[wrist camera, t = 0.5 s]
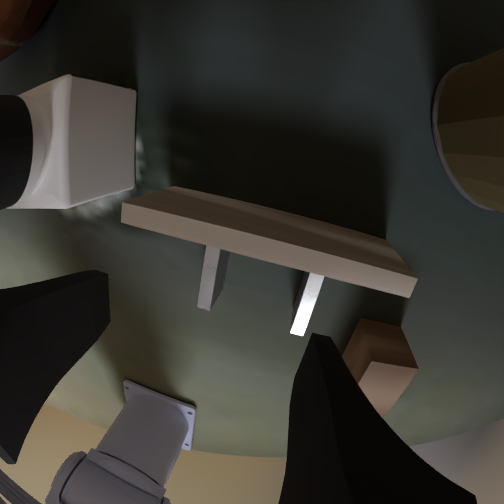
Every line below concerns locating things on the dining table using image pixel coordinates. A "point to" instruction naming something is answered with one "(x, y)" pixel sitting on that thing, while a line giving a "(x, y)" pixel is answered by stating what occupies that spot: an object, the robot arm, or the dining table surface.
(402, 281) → the wall plate
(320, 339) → the robot arm
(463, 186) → the canister
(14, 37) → the butternut squash
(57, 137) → the medicine bottle
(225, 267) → the bracket
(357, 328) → the brown wooden block
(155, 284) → the dining table surface
